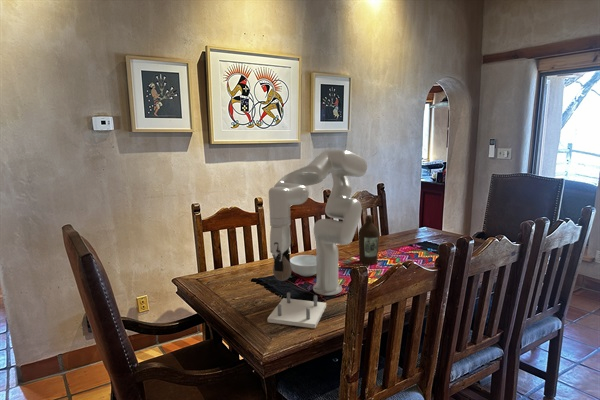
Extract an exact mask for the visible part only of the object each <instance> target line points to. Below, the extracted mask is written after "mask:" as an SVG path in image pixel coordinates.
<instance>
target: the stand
mask: <svg viewBox="0 0 600 400" xmlns="http://www.w3.org/2000/svg"><path fill="white" fill-rule="evenodd" d="M326 308H327V302H321V301H318V294H317V295H316V294H314V295H313V300H312V301H311V300H303V299H294V298H291V292H289V291H288V292H286V298H285V297H283V298H282V299H281V300H280V302H279V303H277V306H276V307H275V308H274V309H273V310H272V312H271V313H270V314H269V316H267V323H273V324H279V325H287V326H295V327H303V328H309V329H310V328H311V329H316V327H317V326H318V324H319V322H320V320H321V318H322V316H323V314H324V312H325V310H326Z"/></svg>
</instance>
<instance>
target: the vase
mask: <svg viewBox="0 0 600 400" xmlns="http://www.w3.org/2000/svg"><path fill="white" fill-rule="evenodd" d="M278 256H279V257H280V255H278ZM282 261H283V271H275V269H274V265H273V267H272V273H273V276H274V278H275V279H276V280H277V281H287V280H288V279H290V277H291V275H292V272H293V271H292V269H291V265H290V263H289V261H288V260H287V259H286V258H285V256H282Z"/></svg>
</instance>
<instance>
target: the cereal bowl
mask: <svg viewBox="0 0 600 400" xmlns="http://www.w3.org/2000/svg"><path fill="white" fill-rule="evenodd" d="M290 265H291V269H292V271H291V272H292V273H295V274H297V275H299V276H301V277H312V276H314V275H317V274H316V255H314V254H313V255H312V254H300V255H294V256H292V257H290Z"/></svg>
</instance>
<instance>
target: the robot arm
mask: <svg viewBox="0 0 600 400" xmlns="http://www.w3.org/2000/svg"><path fill="white" fill-rule="evenodd" d="M367 170H368V165H367V160H366V159H365V158H364V157H363V156H361V155H358V154H357V153H354V152H352V151H349V150H346V149H325V150H323V151H322V152H320V153H319V155H317V157H315V158H314V159H313V160H312V161H311V162H309V164H307V165H306V166H305V165H304V166H303V167H300V168H298V169H296V170H294V171H291V172H288V173H287V174H285V175H284V176H282V177H281V178H280V179H279V180H277V182H276V183H275V185H274V186H273V187H271V188H269V189H268V206H269V224H270V225H269V226H270V233H269V249H270V253H271V254H272V255H271V256H272V258H273V262H274V263H273V266H274V269H275V271H283V261H282V256H285V258H286V259H287V260H288V261H289V263H290V259H291V254H290V253H291V250H290V247H291V244H292V243H291V242H292V240H291V235H292V234H291V225H292V221H291V219H292V218H291V206H295V205H302V204H304V203H306V202H307V200H308V199H309V195H310V193H309V189H308V188H307V187H309V186H313V185H317V184H320V183H321V182H322V181H324V179H326V178H327V176H328V175H331V178H332V182H333V183H332V188H331V191H330V195H329V196H328V199H327V202H326V204H325V209H324V211H325V214H326V216H327V217H330V218H332V219H330V218H321V219H318V220H317V221H315V223H314V225H313V236H314V239H315V249H316V252H315V253H316V254H315V256H316V274H315V275H316V283H315V284H313V286H312V291H313V292H314V293H315V294H317V295H321V296H335V295H338V294H340V293H341V292H342V291H343V287H342V285H341V284H339V255H340V253H339V247H338V245H341V246H344V245H345V246H346V245H349V244H350V243H352V242H353V239H354V236H355V234H356V231H357V228H358V225H359V223H360V219H361V217H362V211H363V209H362V204H361V201H359V200H358V199H356V198H352V197H351V195H352V190H353V187H352V184H351V182H350V180H349V179H348V177H353V178H360V177H363V176H364V175H365V174H366V173H367ZM341 220H342V221H341ZM279 256H280V257H279Z"/></svg>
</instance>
